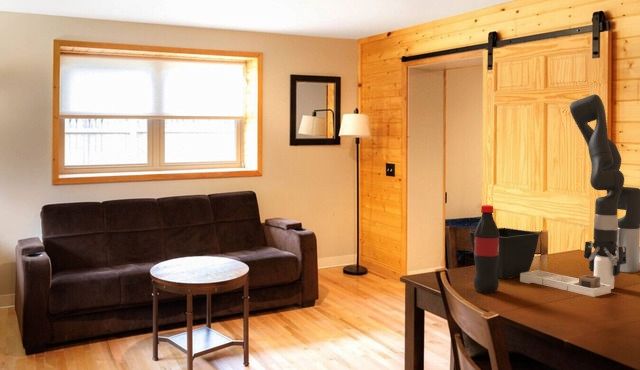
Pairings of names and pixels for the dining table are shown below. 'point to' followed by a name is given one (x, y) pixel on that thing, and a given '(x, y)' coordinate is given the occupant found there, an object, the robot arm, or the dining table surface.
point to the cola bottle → (486, 252)
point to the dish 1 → (535, 276)
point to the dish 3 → (589, 289)
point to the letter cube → (589, 281)
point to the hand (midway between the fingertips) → (604, 273)
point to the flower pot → (514, 251)
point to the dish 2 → (559, 281)
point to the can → (604, 270)
